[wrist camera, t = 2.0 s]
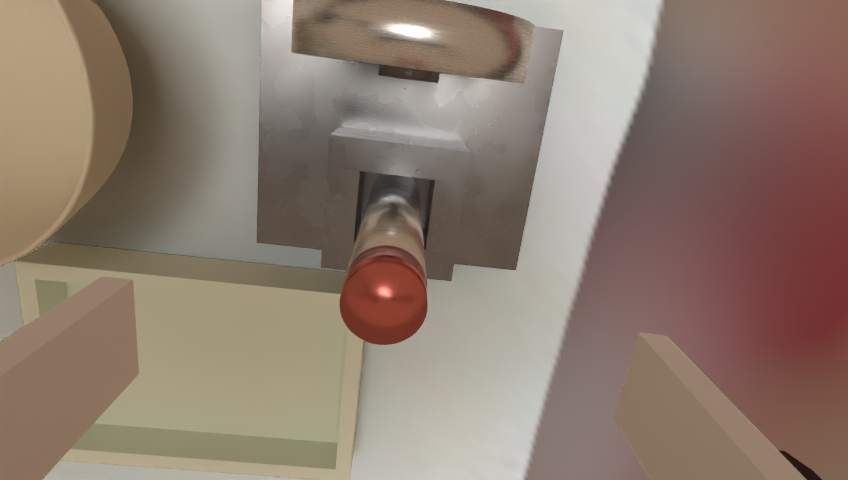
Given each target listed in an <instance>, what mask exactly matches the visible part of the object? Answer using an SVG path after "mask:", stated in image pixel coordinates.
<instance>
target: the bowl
mask: <svg viewBox="0 0 848 480" xmlns="http://www.w3.org/2000/svg"><path fill="white" fill-rule="evenodd" d="M132 116H133V94H132V85H131V78H130V73H129V69H128V65H127V61H126V59H125V56H124V53H123V51H122V48H121V46H120V43H119V41H118V38H117V36H116V34H115V32H114V30H113V28H112V27H111V25H110V23H109V21H108V20H107V18H106V16H105V15H104V13H103V12H102V10H101V9H100V7H99V6H98V4H97V3H96V2H95V0H0V266H3V265H5V264H8V263H10V262H12V261H14V260H16V259H18V258H20V257H22V256H24V255H26V254H27V253H29V252H31V251H32V250H34V249H36V248H37V247H38V246H40V245H41V244H42V243H44V242H45V241H46V240H47V239H49V238H50V237H51V236H52V235H53V234H54V233H56V232H57V231H58V230H59V229H60V228H61V227H62V226H63V225H64V224H65V223H66V222H67V221H69V220H70V219H71V218H72V217H73V216H74V215H75V214H76V213H77V212H78V211H79V210H80V209H81V208H82V207H83V206H84V205H85V204H86V203H87V202H88V201H89V200H90V199H91V198H92V197H93V196H94V195H95V194H96V193H97V192H98V190H99V189H100V188H101V187H102V186H103V185H104V184H105V183H106V181H107V180H108V178H109V177H110V176H111V174H112V173H113V171H114V169H115V168H116V166H117V164H118V163H119V161H120V158H121V156H122V154H123V152H124V150H125V147H126V144H127V141H128V137H129V133H130V129H131V123H132Z"/></svg>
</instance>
